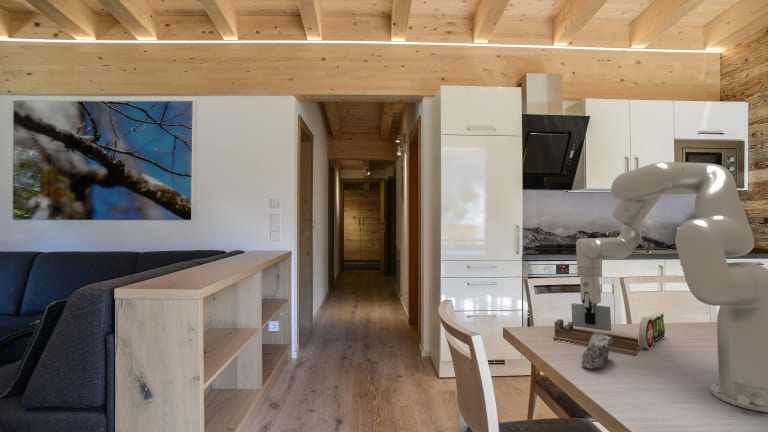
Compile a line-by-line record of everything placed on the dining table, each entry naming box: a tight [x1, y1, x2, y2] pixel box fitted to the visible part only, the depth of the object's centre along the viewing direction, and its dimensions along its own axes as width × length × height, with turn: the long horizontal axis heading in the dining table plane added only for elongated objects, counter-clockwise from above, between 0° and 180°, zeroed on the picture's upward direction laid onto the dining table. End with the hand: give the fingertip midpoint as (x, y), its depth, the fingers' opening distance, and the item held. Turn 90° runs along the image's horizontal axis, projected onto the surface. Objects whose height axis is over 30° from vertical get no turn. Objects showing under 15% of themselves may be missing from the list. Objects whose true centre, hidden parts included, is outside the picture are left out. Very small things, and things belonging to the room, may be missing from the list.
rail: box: [553, 318, 640, 357], centre depth 122 cm, size 9×24×6 cm, turn 49°
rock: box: [581, 331, 613, 369], centre depth 104 cm, size 16×8×10 cm, turn 128°
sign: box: [638, 311, 666, 350], centre depth 122 cm, size 22×2×10 cm, turn 129°
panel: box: [570, 302, 612, 332], centre depth 129 cm, size 2×12×8 cm, turn 49°
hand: (591, 322), depth 129 cm, fingers closed on panel, 2 cm apart
